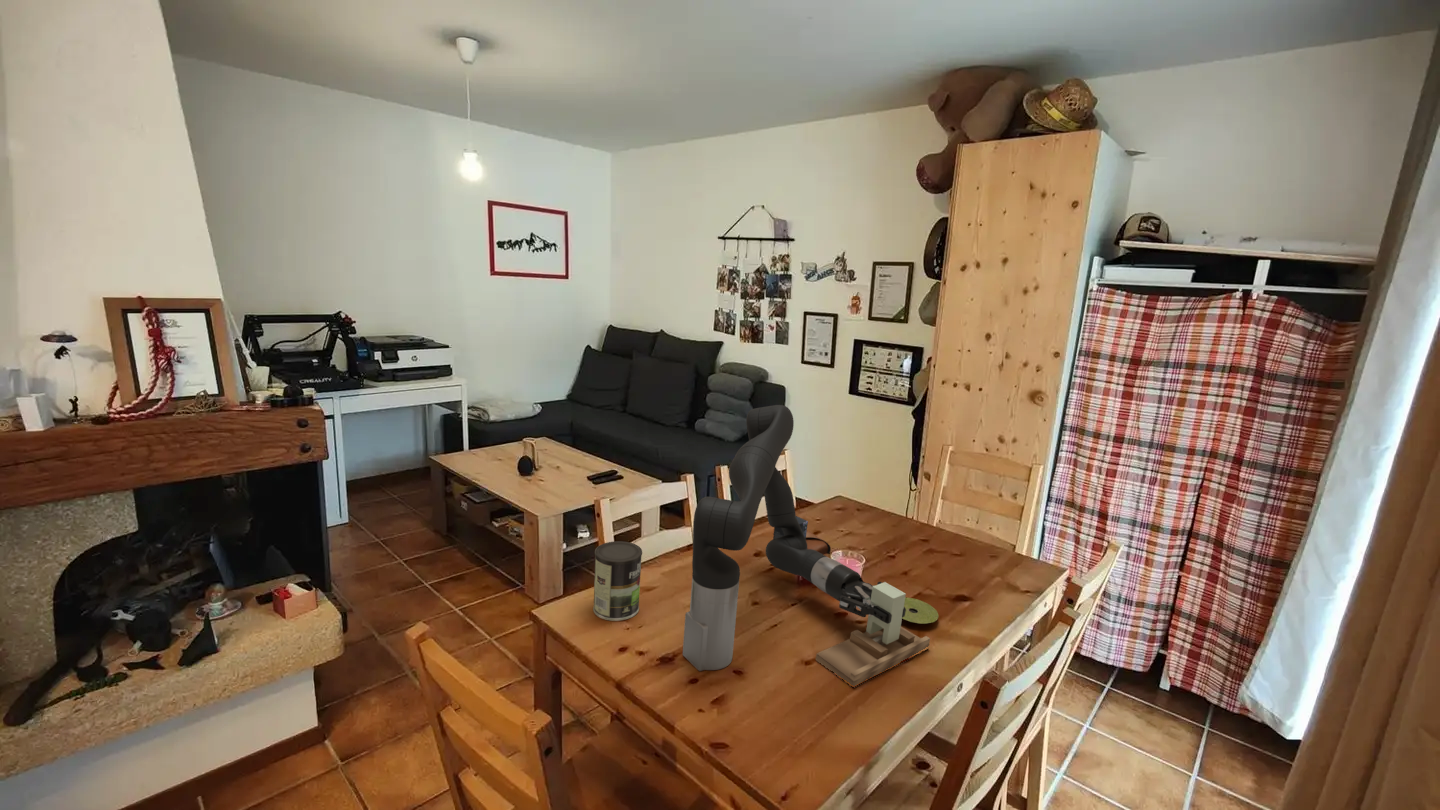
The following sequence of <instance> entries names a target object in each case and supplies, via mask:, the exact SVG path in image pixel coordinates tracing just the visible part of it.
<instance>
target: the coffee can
mask: <svg viewBox="0 0 1440 810" xmlns="http://www.w3.org/2000/svg"><path fill="white" fill-rule="evenodd" d="M594 556H595V557H594V559H595V560H594V585H593V586H594V587H593V588H594V590H593V608H592V609H593V613H594V615H596V617H597V618H600V619H602V620H605V621H612V622H619V621H621V622H623V621H626V620H629V619H632V618H634V617H635V616H636V615H637V614H638V613H639V611H640V589H641V572H642V571H641V570H642V556H643V550H642V548H641V547H640V545H637V544H635V543H633V542H629V541H624V540H623V541H622V540H619V541H618V540H617V541H608V542H605V543H602V544H599V545H598V546H597V547H596V548H595V550H594Z"/></svg>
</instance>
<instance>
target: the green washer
mask: <svg viewBox="0 0 1440 810" xmlns="http://www.w3.org/2000/svg"><path fill="white" fill-rule="evenodd" d="M904 607H905V608H906V612H905V616H904V617H902V619H903V620H905V621H908V622H910V623H915V624H922V625H923V624H924V625H925V624H931V623H935V622H936V621H937V620H938V619H939V613H938V610H937V609H936V608H934V607H933V606H932V605H931V604H929V603H927V602H925V601H923V600H920V599H916V598H913V597H906V596H905V602H904Z"/></svg>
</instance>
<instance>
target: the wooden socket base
mask: <svg viewBox="0 0 1440 810" xmlns="http://www.w3.org/2000/svg"><path fill="white" fill-rule="evenodd" d="M883 631H884V628H883V629H881V630H879V631H877V632H874V633H872V634H870V633H868V632H866V631H865V632H862V631H860V630H859V629H855V630H853V631H851V632H850V637H849V638H848V639H846V640H844V641H842V642H840V643H837V644H835V645H833V646H830V647H828V648H826V649H823V650H821V651H819V652H816V654H815V661H816V662H817V663H819V664H820V663H821V665H822V666H823V665H824V666H825V667H824V666H823V667H824V668H826V669H827V668H828V669H829V670H828V669H827V670H828V671H830V670H831V671H833V672H834V673H836V674H837V675H838V676H840V677H841V678H843V679H844V680H846V681H847V682H849V683H850V684H851V685H853V686H855V685H857V684H859V683H861V682H863V681H865V680H866V679H869V678H870V677H873V676H874V675H877V674H879V673H880V672H883V671H885V670H886V669H888V668H890V667H892V666H894V665H896V664H898V663H900V662H901V661H903V660H905V659H907V658H909V657H910V656H912V655H914V654H916V653H918V652H919V651H921V650H923V649H925V648H926V647H928V646H929V647H930V641H931V638H930V637H929V636H927V635H924V636H923V637H919V636H918V635H916V634H914V633H913V632H912V631H909V630H908V629H907V628H905V627H903V626H901V628H900V634H899V639H897V640H895V641H893V642H891V643H889V644H887V645H886V644H885V643H883V642H882V638H883ZM831 671H830V672H831ZM834 673H833V674H834ZM838 676H837V677H838Z"/></svg>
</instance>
